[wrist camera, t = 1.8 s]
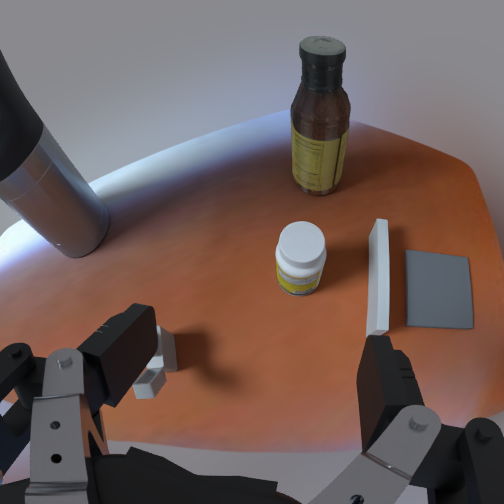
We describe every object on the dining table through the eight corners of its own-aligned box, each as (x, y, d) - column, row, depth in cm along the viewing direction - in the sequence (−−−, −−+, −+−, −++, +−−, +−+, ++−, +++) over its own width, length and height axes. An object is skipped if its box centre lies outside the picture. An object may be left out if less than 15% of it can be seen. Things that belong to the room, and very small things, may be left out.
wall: (365, 337, 30) (376, 329, 27) (368, 236, 35) (377, 218, 32) (376, 338, 30) (388, 330, 27) (378, 237, 35) (387, 219, 32)
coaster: (405, 326, 30) (407, 325, 30) (404, 251, 34) (406, 249, 33) (470, 329, 29) (473, 328, 28) (465, 259, 33) (467, 257, 32)
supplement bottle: (293, 249, 36) (295, 207, 28) (328, 271, 34) (340, 234, 26) (267, 281, 34) (263, 246, 27) (303, 305, 33) (310, 277, 25)
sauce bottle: (319, 155, 41) (330, 25, 24) (349, 185, 39) (378, 50, 21) (280, 175, 40) (274, 38, 22) (309, 208, 38) (322, 64, 20)
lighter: (159, 335, 32) (126, 317, 25) (174, 333, 32) (144, 314, 25) (166, 399, 29) (132, 398, 22) (181, 398, 29) (151, 398, 22)
